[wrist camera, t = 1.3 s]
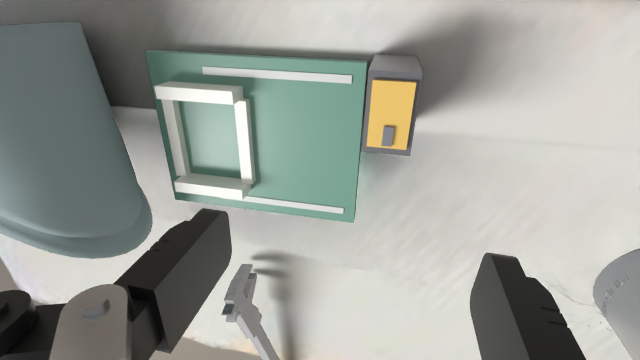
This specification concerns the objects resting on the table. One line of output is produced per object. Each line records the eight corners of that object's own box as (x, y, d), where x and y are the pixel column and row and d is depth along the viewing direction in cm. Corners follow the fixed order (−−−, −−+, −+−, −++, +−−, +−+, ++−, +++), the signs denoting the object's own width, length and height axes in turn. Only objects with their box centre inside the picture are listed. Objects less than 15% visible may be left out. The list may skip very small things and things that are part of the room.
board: (367, 60, 25) (364, 67, 23) (354, 215, 32) (351, 235, 29) (153, 49, 28) (127, 54, 25) (181, 193, 35) (163, 209, 32)
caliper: (243, 260, 37) (216, 303, 31) (252, 260, 37) (226, 304, 31) (282, 380, 45) (266, 431, 40) (289, 381, 45) (274, 432, 40)
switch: (416, 55, 25) (423, 74, 18) (406, 121, 27) (410, 159, 20) (375, 53, 25) (367, 71, 19) (369, 118, 27) (360, 154, 21)
